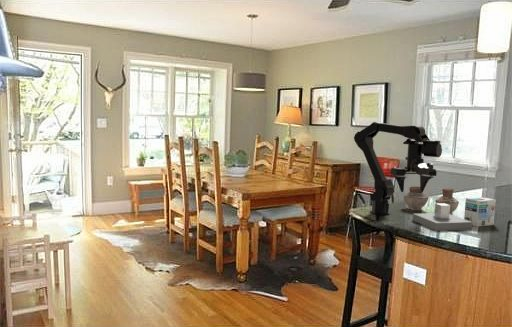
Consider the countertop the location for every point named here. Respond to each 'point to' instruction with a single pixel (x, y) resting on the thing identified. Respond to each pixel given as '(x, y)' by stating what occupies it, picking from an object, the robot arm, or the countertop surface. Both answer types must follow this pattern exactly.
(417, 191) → the pottery
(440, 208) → the beige rectangular block
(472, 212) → the light bulb box
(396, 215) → the countertop surface
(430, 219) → the square nut plate
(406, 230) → the countertop surface
